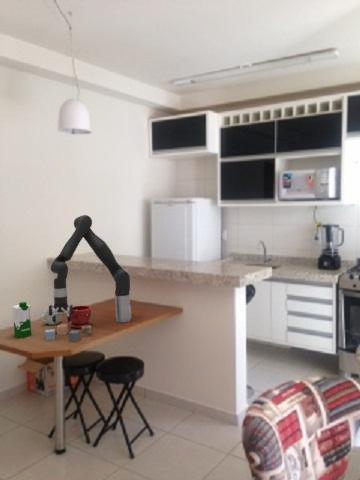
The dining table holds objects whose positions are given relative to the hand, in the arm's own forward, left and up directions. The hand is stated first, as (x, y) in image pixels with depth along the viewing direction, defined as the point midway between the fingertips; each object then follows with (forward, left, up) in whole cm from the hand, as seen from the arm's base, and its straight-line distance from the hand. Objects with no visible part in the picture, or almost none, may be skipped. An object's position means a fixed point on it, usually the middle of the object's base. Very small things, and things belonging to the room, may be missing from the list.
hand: (61, 322), depth 253 cm
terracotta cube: (0, 0, -7) cm, 7 cm away
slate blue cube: (+4, +10, -7) cm, 13 cm away
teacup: (+14, -20, -7) cm, 25 cm away
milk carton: (+23, +3, -7) cm, 24 cm away
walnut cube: (-16, +4, -7) cm, 18 cm away
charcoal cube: (-11, +13, -7) cm, 19 cm away
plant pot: (-7, -14, -7) cm, 17 cm away
